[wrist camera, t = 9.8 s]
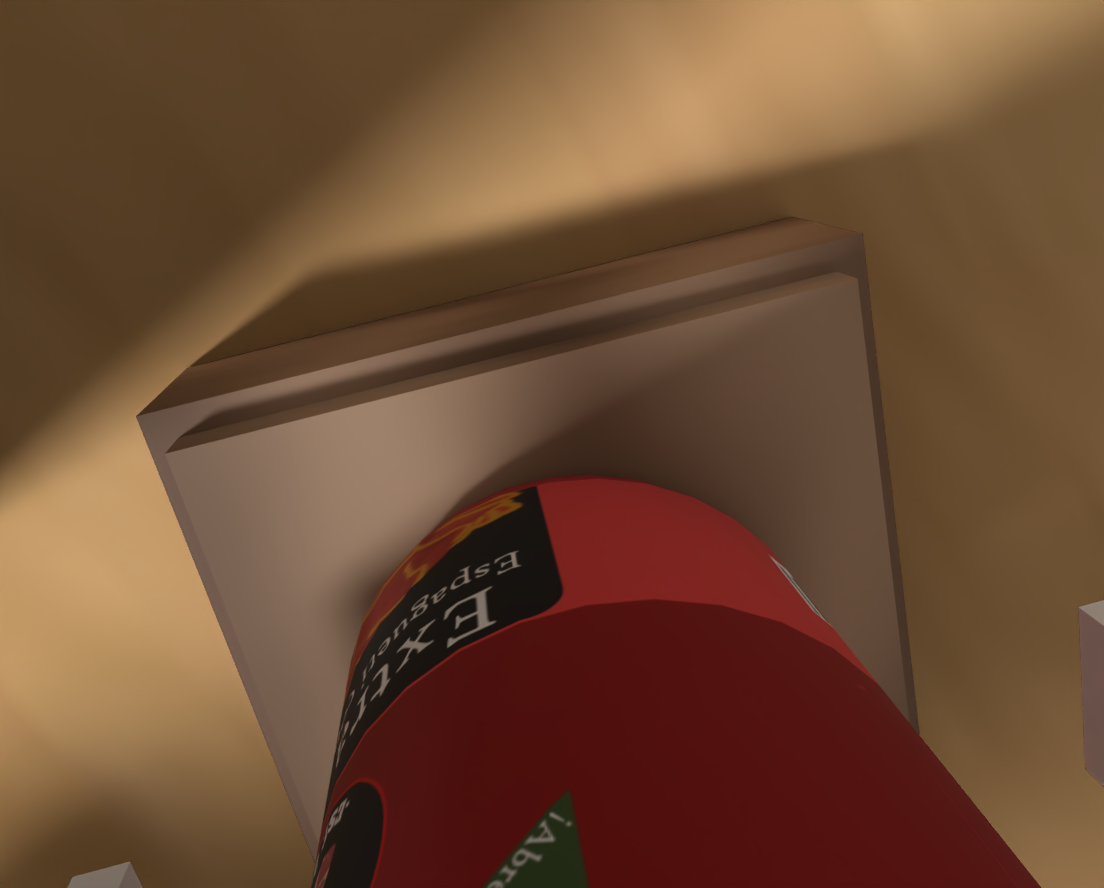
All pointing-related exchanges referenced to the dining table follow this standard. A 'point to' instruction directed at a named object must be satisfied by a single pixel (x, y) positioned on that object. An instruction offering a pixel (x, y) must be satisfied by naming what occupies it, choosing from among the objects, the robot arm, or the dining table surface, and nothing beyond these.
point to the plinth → (536, 450)
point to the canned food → (627, 717)
